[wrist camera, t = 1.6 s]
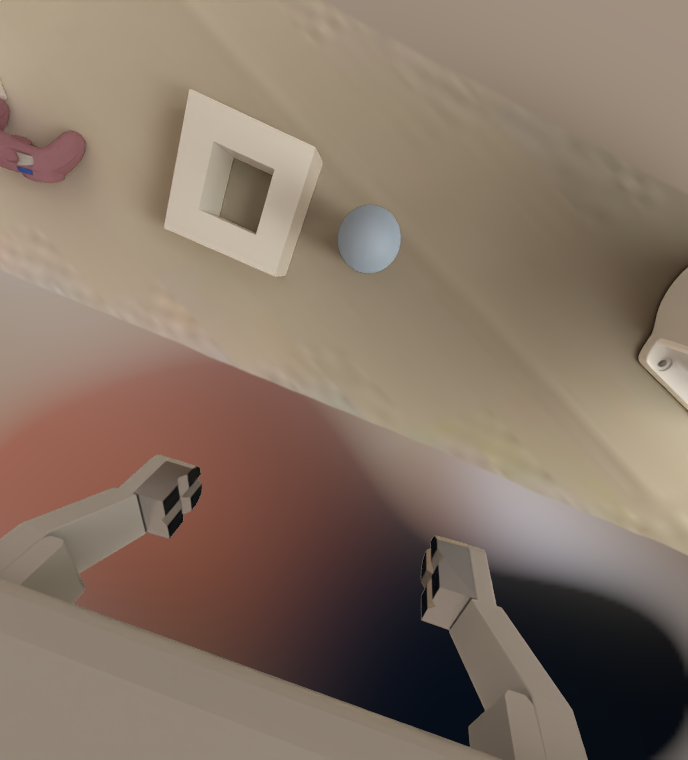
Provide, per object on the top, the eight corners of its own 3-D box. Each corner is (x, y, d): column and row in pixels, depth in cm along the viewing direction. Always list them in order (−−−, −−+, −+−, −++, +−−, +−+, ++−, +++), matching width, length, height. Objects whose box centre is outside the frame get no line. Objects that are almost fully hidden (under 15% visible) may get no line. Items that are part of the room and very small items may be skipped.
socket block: (323, 163, 32) (315, 147, 28) (285, 275, 36) (274, 276, 32) (213, 112, 32) (189, 88, 28) (188, 232, 36) (163, 228, 32)
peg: (395, 254, 35) (413, 244, 20) (367, 278, 36) (364, 286, 21) (373, 224, 34) (374, 189, 19) (344, 250, 35) (324, 236, 20)
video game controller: (15, 143, 36) (-53, 155, 31) (-5, 91, 32) (-85, 95, 28) (99, 179, 36) (44, 197, 31) (88, 132, 33) (25, 144, 28)
